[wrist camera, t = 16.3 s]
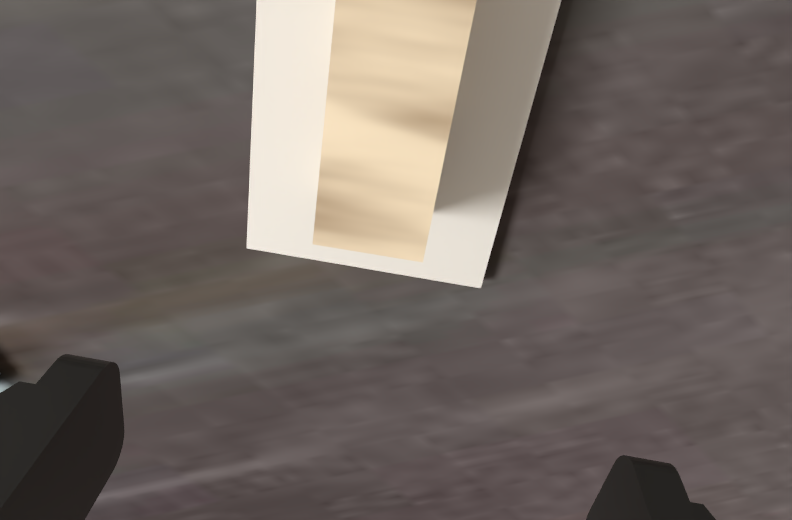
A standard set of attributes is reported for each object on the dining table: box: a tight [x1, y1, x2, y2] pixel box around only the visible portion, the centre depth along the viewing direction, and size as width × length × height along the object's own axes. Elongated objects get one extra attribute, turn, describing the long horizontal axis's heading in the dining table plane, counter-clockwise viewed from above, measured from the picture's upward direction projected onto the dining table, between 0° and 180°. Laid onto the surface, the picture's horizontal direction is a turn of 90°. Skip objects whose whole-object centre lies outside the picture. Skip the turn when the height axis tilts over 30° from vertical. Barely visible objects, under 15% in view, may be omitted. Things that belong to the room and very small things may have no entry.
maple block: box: [313, 0, 477, 262], centre depth 24 cm, size 5×5×12 cm
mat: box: [247, 0, 561, 288], centre depth 26 cm, size 20×12×1 cm, turn 171°
